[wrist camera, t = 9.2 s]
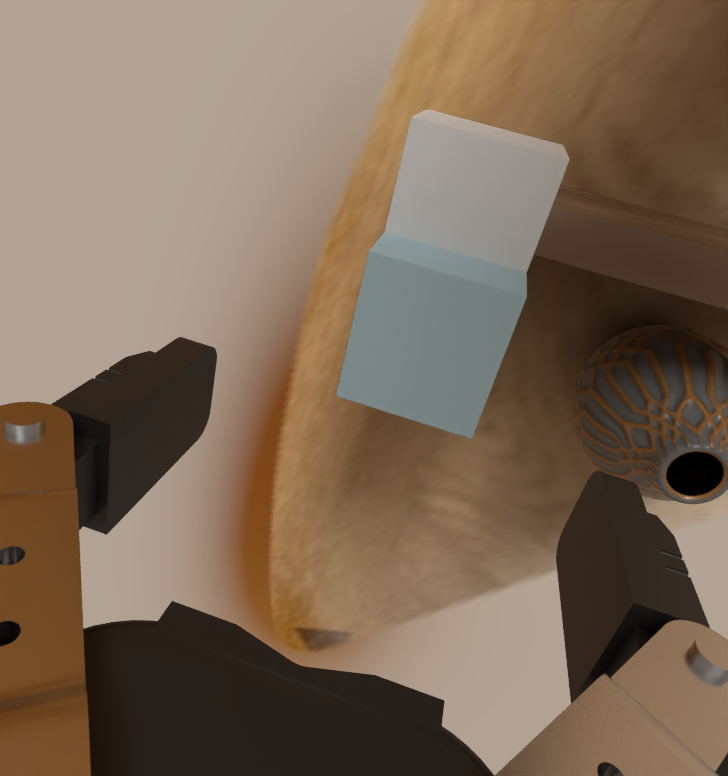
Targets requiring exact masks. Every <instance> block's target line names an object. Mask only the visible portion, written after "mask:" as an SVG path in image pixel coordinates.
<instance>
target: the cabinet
mask: <svg viewBox="0 0 728 776" xmlns="http://www.w3.org/2000/svg"><path fill="white" fill-rule="evenodd" d="M569 160H570V158H569V156H568V154H567V152H566V150H565V148H564V146H563V145H561V144H557V143H553V142H550V141H546V140H542V139H538V138H535V137H531V136H527V135H523V134H519V133H516V132H512V131H508V130H504V129H501V128H497V127H493V126H489V125H486V124H482V123H478V122H474V121H471V120H467V119H463V118H459V117H455V116H452V115H448V114H444V113H440V112H437V111H433V110H429V109H427V110H425V111H423V112H421V113H419V114H417V115H414V116H412V118H411V122H410V126H409V130H408V135H407V139H406V143H405V147H404V151H403V156H402V160H401V164H400V168H399V173H398V177H397V181H396V185H395V190H394V194H393V198H392V202H391V206H390V211H389V215H388V219H387V223H386V228H385V232H384V233H383V234H382V236H381V237H380V238H379V239H378V240H377V242H376V243H375V244H374V245H373V246H372V248H371V249H370V250H369V252H368V257H367V261H366V266H365V270H364V274H363V279H362V283H361V288H360V292H359V296H358V301H357V305H356V310H355V314H354V319H353V323H352V327H351V332H350V336H349V341H348V345H347V350H346V354H345V358H344V363H343V367H342V372H341V376H340V381H339V385H338V389H337V394H336V396H338V397H341V398H344V399H347V400H350V401H354V402H357V403H360V404H363V405H366V406H369V407H372V408H376V409H379V410H382V411H385V412H388V413H391V414H394V415H398V416H401V417H404V418H407V419H410V420H413V421H416V422H420V423H423V424H426V425H429V426H432V427H435V428H439V429H442V430H445V431H448V432H451V433H454V434H457V435H461V436H464V437H467V438H470V439H472V437H473V435H474V432H475V429H476V427H477V424H478V422H479V419H480V417H481V414H482V411H483V409H484V406H485V404H486V401H487V399H488V396H489V393H490V391H491V388H492V386H493V383H494V381H495V378H496V375H497V373H498V370H499V368H500V365H501V363H502V360H503V357H504V355H505V352H506V350H507V347H508V345H509V342H510V339H511V337H512V334H513V332H514V329H515V326H516V324H517V321H518V319H519V316H520V314H521V311H522V308H523V306H524V303H525V301H526V298H527V271H528V268H529V265H530V263H531V260H532V257H533V255H534V252H535V250H536V247H537V244H538V242H539V239H540V236H541V234H542V231H543V228H544V226H545V223H546V221H547V218H548V215H549V213H550V210H551V207H552V205H553V202H554V199H555V197H556V194H557V192H558V189H559V186H560V184H561V181H562V178H563V176H564V173H565V170H566V168H567V165H568V163H569Z"/></svg>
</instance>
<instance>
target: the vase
mask: <svg viewBox="0 0 728 776" xmlns="http://www.w3.org/2000/svg"><path fill="white" fill-rule="evenodd" d="M573 402H574V419H575V425H576V429H577V432H578V435H579V438H580V441H581V443H582V445H583V447H584V449H585V450H586V452H587V454H588V455H589V457H590V458H591V459H592V461H593V462H594V463H595V464H596V466H597V467H598V468H599V469H600V470H601V471H602V472H603V473H607V474H610V475H613V476H616V477H619V478H622V479H625V480H629V481H632V482H635V483H636V484H637V485H638V488H639V491H640V494H641V496H645V497H649V498H652V499H658V500H668V501H678V502H681V503H686V504H700V503H705V502H709V501H711V500H714V499H716V498H718V497H719V496H721V495H722V494H723V493H724V492H725V491H726V490H727V489H728V349H727V348H726V347H724V346H723V345H722V344H720V343H719V342H717V341H716V340H714V339H713V338H711V337H709V336H707V335H705V334H703V333H700V332H698V331H695V330H692V329H688V328H685V327H680V326H674V325H649V326H642V327H638V328H634V329H631V330H628V331H625V332H623V333H621V334H619V335H617V336H615V337H613V338H612V339H610V340H608V341H607V342H606V343H604V344H603V345H602V346H601V347H600V348H598V349H597V350H596V351H595V353H594V354H593V355H592V356H591V357H590V359H589V360H588V361H587V363H586V364H585V366H584V368H583V369H582V371H581V373H580V376H579V378H578V381H577V384H576V388H575V392H574V401H573Z"/></svg>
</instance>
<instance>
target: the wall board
mask: <svg viewBox="0 0 728 776" xmlns="http://www.w3.org/2000/svg"><path fill="white" fill-rule="evenodd" d="M534 255H537V256H540V257H544V258H547V259H551V260H554V261H558V262H561V263H565V264H568V265H572V266H575V267H579V268H582V269H586V270H589V271H593V272H596V273H600V274H603V275H607V276H610V277H614V278H617V279H621V280H624V281H628V282H631V283H635V284H638V285H642V286H645V287H649V288H652V289H656V290H659V291H663V292H666V293H670V294H673V295H677V296H680V297H684V298H688V299H691V300H695V301H698V302H702V303H705V304H709V305H712V306H716V307H719V308H723V309H726V310H728V230H725V229H721V228H717V227H714V226H710V225H706V224H703V223H699V222H695V221H692V220H688V219H684V218H681V217H677V216H673V215H670V214H666V213H662V212H659V211H655V210H651V209H648V208H644V207H640V206H637V205H633V204H629V203H625V202H622V201H618V200H614V199H611V198H607V197H603V196H600V195H596V194H592V193H589V192H585V191H581V190H578V189H574V188H570V187H567V186H563V185H560V186H559V189H558V192H557V194H556V197H555V199H554V202H553V205H552V207H551V210H550V213H549V215H548V218H547V221H546V223H545V226H544V228H543V231H542V234H541V236H540V239H539V242H538V244H537V247H536V250H535V252H534Z"/></svg>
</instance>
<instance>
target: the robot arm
mask: <svg viewBox="0 0 728 776" xmlns="http://www.w3.org/2000/svg"><path fill="white" fill-rule="evenodd" d="M216 362H217V353H216V350H215V348H214V347H211V346H208V345H204V344H201V343H198V342H195V341H192V340H188V339H186V338H182V337H179V338H177V339H175V340H174V341H172V342H171V343H170V344H168V345H166V346H165V347H163V348H162V349H160V350H159V351H157V352H156V353H154V352H151V351H148V352H144V353H140V354H136V355H132V356H128V357H126V358H124V359H122V360H121V361H119V362H117V363H116V364H114V365H113V366H111V367H110V368H109V370H105V371H103V372H102V373H100V374H98V375H97V376H96V378H95V379H91V380H89V381H87V382H86V383H84V384H83V385H81V386H79V387H78V388H76V389H75V390H73V391H72V392H70V393H68V394H67V395H65V396H64V397H62V398H60V399H59V400H57V401H56V402H54V403H52V404H51V405H50V404H45V403H39V402H17V403H10V404H6V405H1V406H0V776H494V774H493V773H492V772H491V771H490V770H489V768H488V767H487V766H486V765H485V764H484V762H483V761H482V760H481V759H480V758H479V757H478V756H477V755H476V754H475V753H474V752H473V751H472V750H471V749H470V748H469V747H468V746H467V745H466V744H465V743H464V742H462V741H461V740H460V739H459V738H457V737H456V736H455V735H454V734H453V733H451V732H450V731H448V730H447V729H445V728H444V727H442V717H443V708H444V700H441V699H438V698H436V697H433V696H430V695H428V694H425V693H422V692H419V691H417V690H414V689H411V688H409V687H406V686H403V685H400V684H398V683H395V682H392V681H389V680H387V679H384V678H381V677H378V676H376V675H369V674H360V673H352V672H344V671H336V670H327V669H319V668H311V667H304V666H300V665H298V664H296V663H294V662H292V661H290V660H289V659H287V658H286V657H284V656H283V655H281V654H280V653H278V652H277V651H275V650H274V649H272V648H271V647H269V646H268V645H266V644H265V643H263V642H262V641H260V640H259V639H257V638H256V637H254V636H253V635H251V634H250V633H248V632H247V631H245V630H244V629H242V628H241V627H239V626H238V625H236V624H233V623H231V622H228V621H225V620H223V619H220V618H217V617H214V616H212V615H209V614H206V613H203V612H201V611H198V610H195V609H193V608H190V607H187V606H184V605H182V604H179V603H176V602H173V601H172V602H171V603H170V605H169V606H168V608H167V609H166V610H165V612H164V613H163V615H162V616H161V618H160V619H159V620H158V621H143V620H140V621H139V620H132V621H131V620H130V621H119V622H111V623H106V624H100V625H95V626H91V627H88V628H84V629H83V612H82V589H81V567H80V566H81V565H80V543H79V530H80V529H81V528H82V527H83V526H84V527H87V528H90V529H93V530H96V531H98V532H101V533H104V534H108V533H109V532H110V530H111V529H112V528H113V527H114V526H115V525H116V524H117V523H118V522H119V521H120V520H121V519H122V518H123V517H124V516H125V515H126V514H127V513H128V512H129V511H130V510H131V509H132V508H133V507H134V506H135V504H136V503H137V502H138V501H139V500H140V499H141V498H142V497H143V496H144V495H145V494H146V493H147V492H148V491H149V490H150V489H151V488H152V487H153V486H154V485H155V484H156V483H157V482H158V480H160V479H161V477H162V476H163V475H164V474H165V473H166V472H167V471H168V470H169V469H170V468H171V467H172V466H173V465H174V464H175V463H176V462H177V461H178V460H179V459H180V458H181V456H182V455H184V454H185V452H186V451H187V450H188V449H189V448H190V447H191V446H192V445H193V444H194V443H195V442H196V441H197V440H198V439H199V438H200V436H201V435H202V433H203V431H204V429H205V427H206V424H207V421H208V419H209V415H210V408H211V400H212V393H213V385H214V377H215V369H216ZM681 559H682V555H681V552H680V550H679V547H678V545H677V542H676V540H675V537H674V536H673V534H672V533H671V532H670V531H669V530H668V528H667V527H666V526H665V525H664V524H663V522H662V521H661V520H660V519H659V518H658V517H657V516H656V515H653V514H650V513H647V511H646V508H645V505H644V502H643V499H642V496H641V494H640V491H639V488H638V485H637V484H636V483H635V482H632V481H629V480H625V479H622V478H619V477H616V476H613V475H610V474H607V473H603V472H600V471H595V472H594V473H593V474H592V475H591V476H590V478H589V480H588V481H587V483H586V485H585V487H584V489H583V491H582V493H581V495H580V497H579V499H578V501H577V503H576V505H575V507H574V509H573V511H572V513H571V515H570V517H569V519H568V521H567V523H566V525H565V527H564V529H563V531H562V533H561V536H560V539H559V543H558V547H557V555H556V562H557V572H558V582H559V591H560V601H561V610H562V620H563V629H564V639H565V649H566V659H567V668H568V677H569V687H570V696H571V704H570V705H569V706H568V707H567V708H566V709H565V710H564V711H563V712H562V713H561V714H560V715H559V716H558V717H557V718H556V719H554V721H552V722H551V723H550V724H549V725H548V726H547V727H546V728H545V729H544V730H543V731H542V732H541V733H540V734H539V735H538V736H537V737H535V738H534V739H533V740H532V741H531V742H530V743H529V744H528V745H527V746H526V747H525V748H524V749H523V750H522V751H521V752H520V753H518V754H517V755H516V756H515V757H514V758H513V759H512V760H511V761H510V762H509V763H508V764H507V765H506V766H505V767H504V768H503V769H502V770H500V771H499V772H498V773H497V774H496V775H495V776H728V640H727V639H726V638H725V637H723V636H722V635H720V634H719V633H717V632H715V631H713V630H712V629H710V627H709V624H708V622H707V619H706V616H705V614H704V611H703V609H702V606H701V604H700V601H699V598H698V596H697V593H696V591H695V588H694V586H693V583H692V581H691V578H690V577H688V570H687V568H686V565H685V563H684V561H683V560H681Z"/></svg>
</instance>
